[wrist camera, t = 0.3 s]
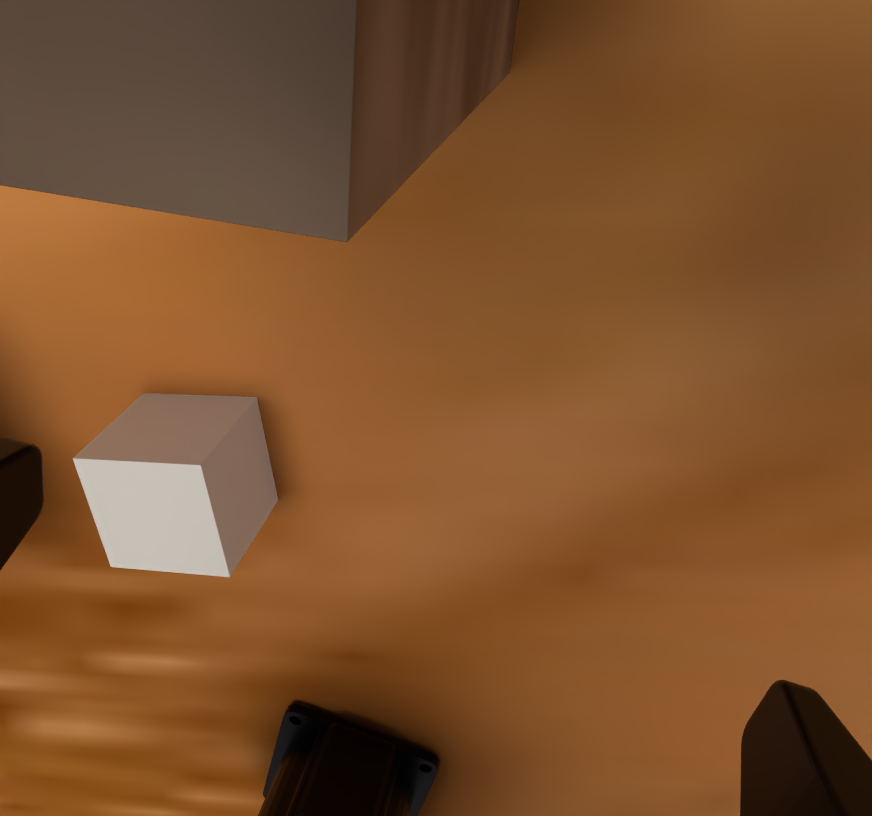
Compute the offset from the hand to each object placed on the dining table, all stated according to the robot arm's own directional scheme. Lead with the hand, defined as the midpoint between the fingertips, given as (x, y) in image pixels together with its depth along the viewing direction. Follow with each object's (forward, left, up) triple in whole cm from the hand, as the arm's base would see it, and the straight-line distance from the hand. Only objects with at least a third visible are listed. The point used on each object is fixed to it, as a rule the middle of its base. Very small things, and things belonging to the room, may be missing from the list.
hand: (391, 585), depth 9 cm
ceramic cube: (-10, +7, -14) cm, 19 cm away
